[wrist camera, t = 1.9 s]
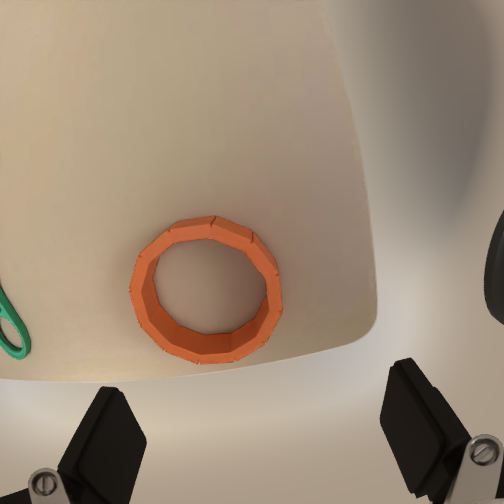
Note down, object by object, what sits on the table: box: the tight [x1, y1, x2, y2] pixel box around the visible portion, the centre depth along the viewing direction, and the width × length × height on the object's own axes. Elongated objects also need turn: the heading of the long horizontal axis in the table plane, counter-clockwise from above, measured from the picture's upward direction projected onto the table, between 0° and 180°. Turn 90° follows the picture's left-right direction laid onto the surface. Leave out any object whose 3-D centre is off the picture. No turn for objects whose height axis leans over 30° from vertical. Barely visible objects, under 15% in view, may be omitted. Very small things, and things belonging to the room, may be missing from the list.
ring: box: [129, 216, 283, 364], centre depth 22 cm, size 11×11×3 cm
